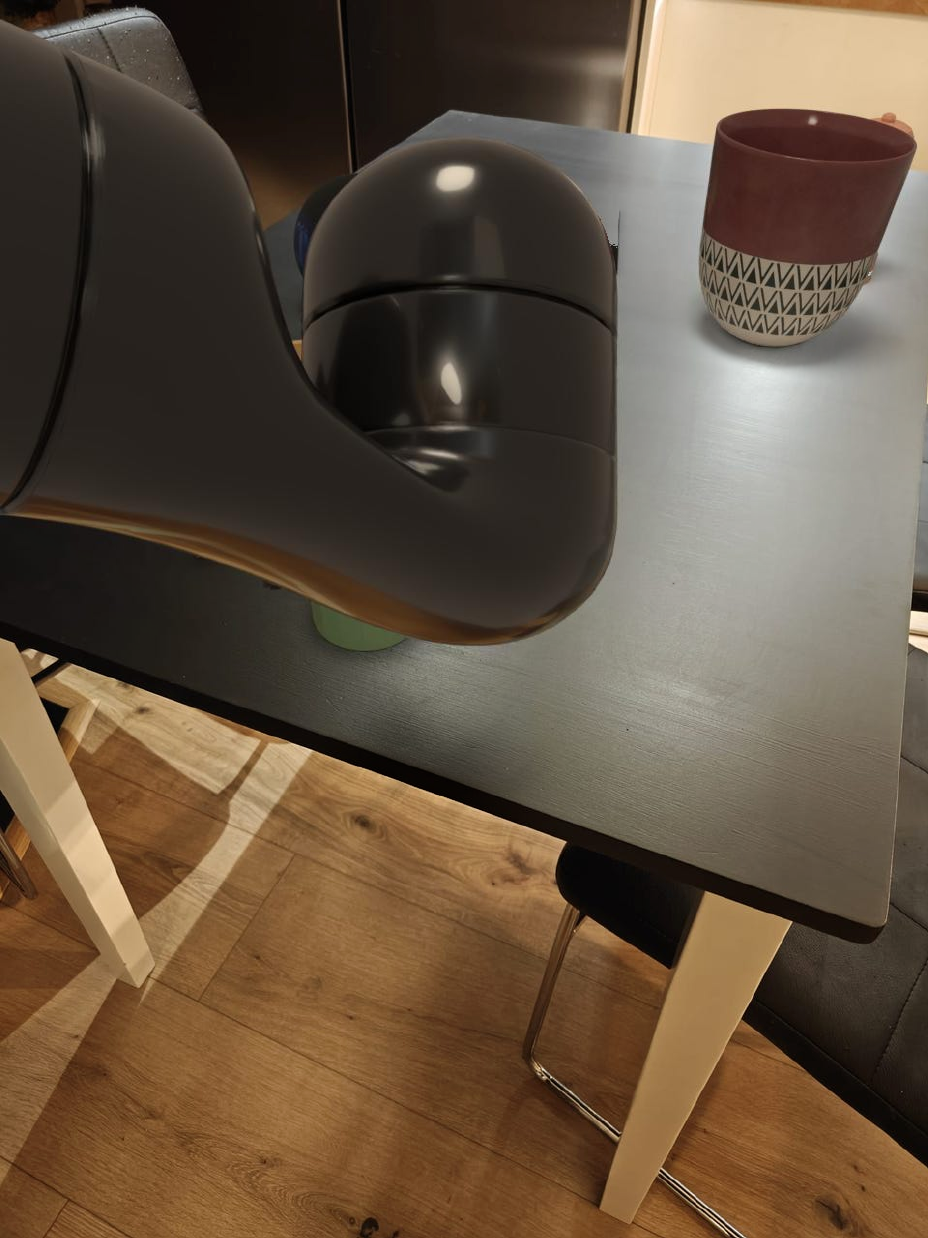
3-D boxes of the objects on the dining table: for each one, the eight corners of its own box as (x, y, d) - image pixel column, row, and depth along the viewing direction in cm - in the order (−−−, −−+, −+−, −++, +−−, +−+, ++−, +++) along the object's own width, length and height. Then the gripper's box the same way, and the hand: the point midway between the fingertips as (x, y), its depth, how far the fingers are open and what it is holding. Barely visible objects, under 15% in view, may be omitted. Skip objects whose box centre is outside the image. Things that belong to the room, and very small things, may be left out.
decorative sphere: (275, 319, 106) (257, 183, 96) (345, 275, 116) (336, 148, 105) (385, 348, 101) (379, 208, 91) (449, 300, 111) (450, 169, 100)
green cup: (317, 657, 65) (299, 509, 56) (309, 584, 71) (291, 440, 62) (430, 643, 66) (429, 496, 57) (413, 573, 72) (409, 430, 63)
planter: (821, 392, 95) (890, 175, 81) (651, 344, 103) (687, 137, 88) (869, 326, 108) (936, 128, 93) (714, 288, 115) (754, 98, 101)
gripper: (243, 634, 35) (270, 645, 52) (569, 596, 37) (493, 618, 54) (221, 445, 35) (255, 517, 53) (546, 417, 38) (477, 495, 55)
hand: (376, 568), depth 53 cm, fingers closed
